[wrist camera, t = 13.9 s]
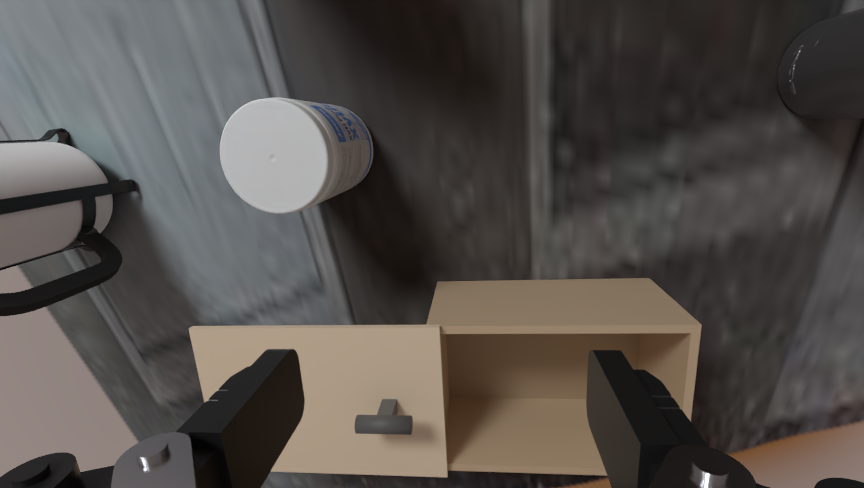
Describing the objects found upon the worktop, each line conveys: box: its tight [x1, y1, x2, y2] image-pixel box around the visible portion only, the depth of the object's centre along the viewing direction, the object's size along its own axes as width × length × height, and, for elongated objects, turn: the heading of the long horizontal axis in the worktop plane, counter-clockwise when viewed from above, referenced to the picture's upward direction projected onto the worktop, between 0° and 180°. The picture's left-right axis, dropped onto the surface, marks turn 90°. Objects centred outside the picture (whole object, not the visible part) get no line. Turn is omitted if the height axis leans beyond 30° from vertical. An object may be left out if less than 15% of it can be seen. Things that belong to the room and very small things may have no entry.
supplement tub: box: [220, 98, 373, 214], centre depth 42 cm, size 10×10×15 cm
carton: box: [426, 278, 702, 476], centre depth 47 cm, size 24×16×12 cm, turn 93°
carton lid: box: [189, 325, 448, 477], centre depth 41 cm, size 24×16×4 cm
